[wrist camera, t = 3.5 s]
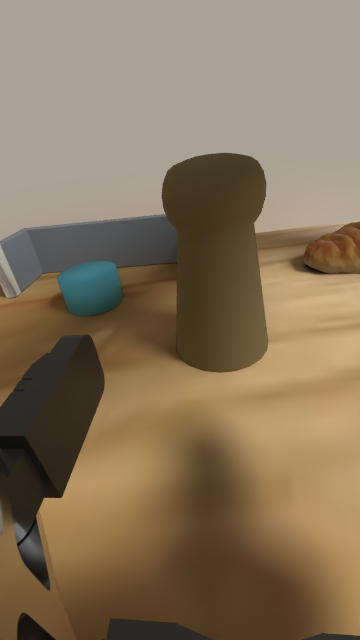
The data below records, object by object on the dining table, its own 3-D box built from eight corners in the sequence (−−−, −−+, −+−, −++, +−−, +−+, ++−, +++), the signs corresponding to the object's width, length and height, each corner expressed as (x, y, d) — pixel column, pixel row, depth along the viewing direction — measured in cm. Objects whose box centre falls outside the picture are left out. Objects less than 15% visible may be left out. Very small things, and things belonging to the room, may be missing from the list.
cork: (182, 318, 23) (161, 157, 18) (263, 316, 22) (269, 144, 17) (168, 371, 18) (133, 170, 13) (273, 372, 17) (286, 152, 12)
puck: (129, 288, 29) (122, 259, 28) (115, 315, 25) (107, 282, 24) (79, 292, 30) (70, 263, 29) (58, 318, 26) (46, 286, 24)
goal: (207, 256, 34) (202, 189, 30) (206, 283, 28) (200, 204, 24) (39, 270, 36) (16, 209, 33) (6, 297, 31) (-26, 227, 27)
